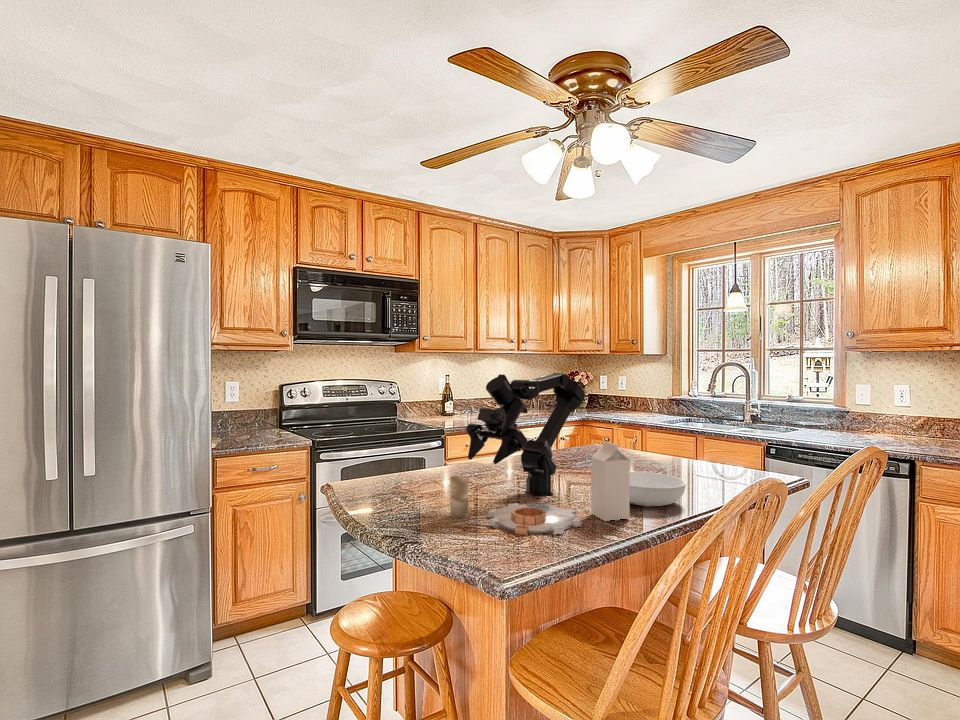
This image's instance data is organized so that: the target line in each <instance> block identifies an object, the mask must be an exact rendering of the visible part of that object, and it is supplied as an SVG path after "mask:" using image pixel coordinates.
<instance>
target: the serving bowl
mask: <svg viewBox="0 0 960 720" xmlns="http://www.w3.org/2000/svg"><path fill="white" fill-rule="evenodd" d="M686 486H687V485H686V482H685V479H684V480H683V479H682V478H679V477H678V476H673V475H669V474H663V473H660V472H659V473H658V472H650V471H630V502H629V504H632V503H633V504H632V505H634V504H637V505H643V506H658V507H662V506H663V507H664V506H668V505H672V504H674V503H676V502H678V501H679V500H680V499H681V498H682V497H683V495H684V493H685V490H686ZM637 505H636V506H637ZM643 506H642V507H643Z"/></svg>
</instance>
